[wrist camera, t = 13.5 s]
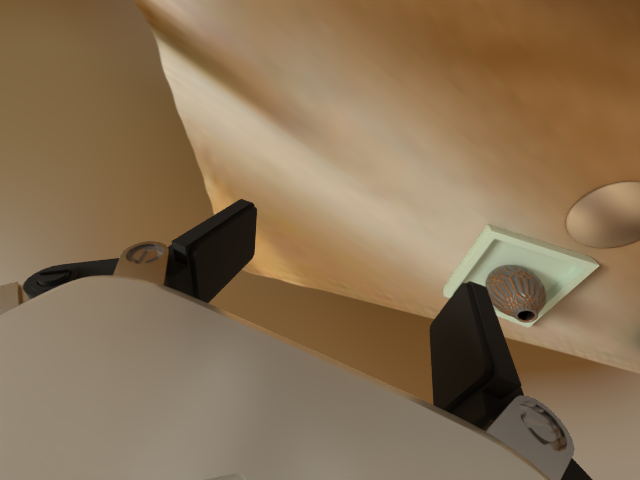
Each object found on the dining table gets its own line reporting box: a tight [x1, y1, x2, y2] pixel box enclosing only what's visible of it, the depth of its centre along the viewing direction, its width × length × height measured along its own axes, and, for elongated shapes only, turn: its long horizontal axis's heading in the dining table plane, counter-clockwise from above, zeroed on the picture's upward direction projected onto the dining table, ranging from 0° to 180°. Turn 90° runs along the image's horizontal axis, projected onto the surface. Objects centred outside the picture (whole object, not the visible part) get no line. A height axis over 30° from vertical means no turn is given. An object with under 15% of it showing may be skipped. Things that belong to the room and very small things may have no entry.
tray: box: [443, 224, 600, 328], centre depth 39 cm, size 14×14×2 cm
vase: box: [485, 265, 547, 323], centre depth 35 cm, size 7×7×9 cm
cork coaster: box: [566, 181, 640, 248], centre depth 31 cm, size 9×9×1 cm
